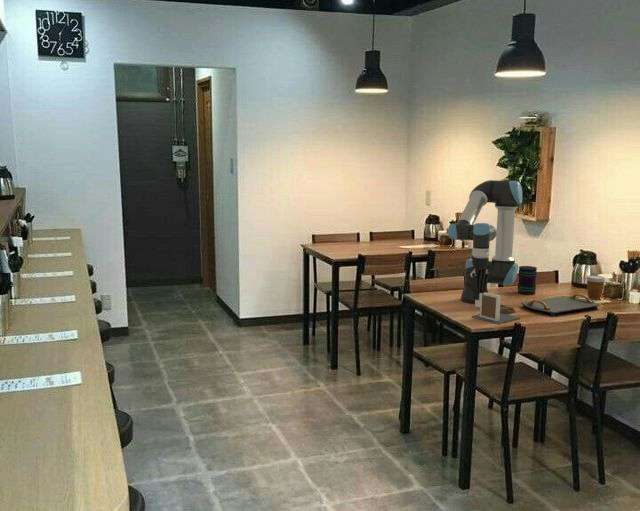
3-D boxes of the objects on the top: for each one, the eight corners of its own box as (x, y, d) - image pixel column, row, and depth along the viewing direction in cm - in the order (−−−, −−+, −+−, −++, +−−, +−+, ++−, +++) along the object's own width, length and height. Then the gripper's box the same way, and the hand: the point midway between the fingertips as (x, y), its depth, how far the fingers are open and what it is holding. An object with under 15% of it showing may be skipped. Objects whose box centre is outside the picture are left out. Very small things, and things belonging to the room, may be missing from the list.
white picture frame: (479, 316, 303) (480, 292, 301) (482, 316, 304) (483, 291, 302) (496, 321, 295) (497, 296, 293) (499, 320, 297) (500, 295, 295)
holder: (482, 309, 320) (482, 304, 320) (492, 306, 325) (492, 301, 324) (505, 314, 309) (505, 309, 309) (515, 312, 314) (515, 307, 314)
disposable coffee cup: (586, 299, 341) (587, 278, 339) (583, 295, 350) (585, 274, 348) (605, 300, 339) (606, 279, 337) (601, 296, 348) (603, 275, 346)
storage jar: (534, 291, 360) (536, 266, 358) (536, 295, 351) (537, 269, 348) (516, 290, 362) (518, 265, 360) (517, 294, 353) (519, 268, 351)
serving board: (568, 300, 342) (569, 289, 341) (604, 309, 321) (605, 298, 320) (515, 308, 324) (516, 296, 323) (550, 318, 304) (551, 306, 303)
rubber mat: (471, 317, 304) (471, 316, 304) (492, 312, 314) (492, 311, 314) (499, 324, 292) (499, 323, 292) (519, 318, 302) (519, 317, 301)
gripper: (478, 259, 283) (475, 310, 286) (496, 256, 290) (493, 305, 294) (464, 257, 288) (462, 306, 292) (482, 254, 296) (480, 302, 300)
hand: (478, 306), depth 293 cm, fingers closed
